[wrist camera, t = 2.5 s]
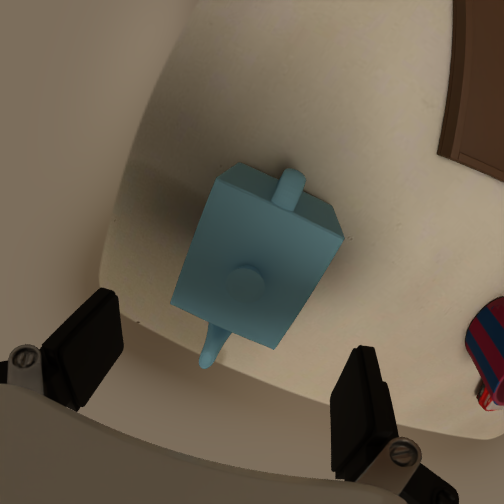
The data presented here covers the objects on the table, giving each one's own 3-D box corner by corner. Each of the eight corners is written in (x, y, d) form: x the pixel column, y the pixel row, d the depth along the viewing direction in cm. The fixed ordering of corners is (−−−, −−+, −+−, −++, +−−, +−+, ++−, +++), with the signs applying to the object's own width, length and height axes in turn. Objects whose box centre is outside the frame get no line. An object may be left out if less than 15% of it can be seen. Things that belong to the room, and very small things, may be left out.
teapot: (262, 323, 23) (247, 398, 16) (189, 290, 23) (149, 356, 16) (341, 180, 18) (367, 216, 11) (251, 138, 18) (222, 147, 11)
